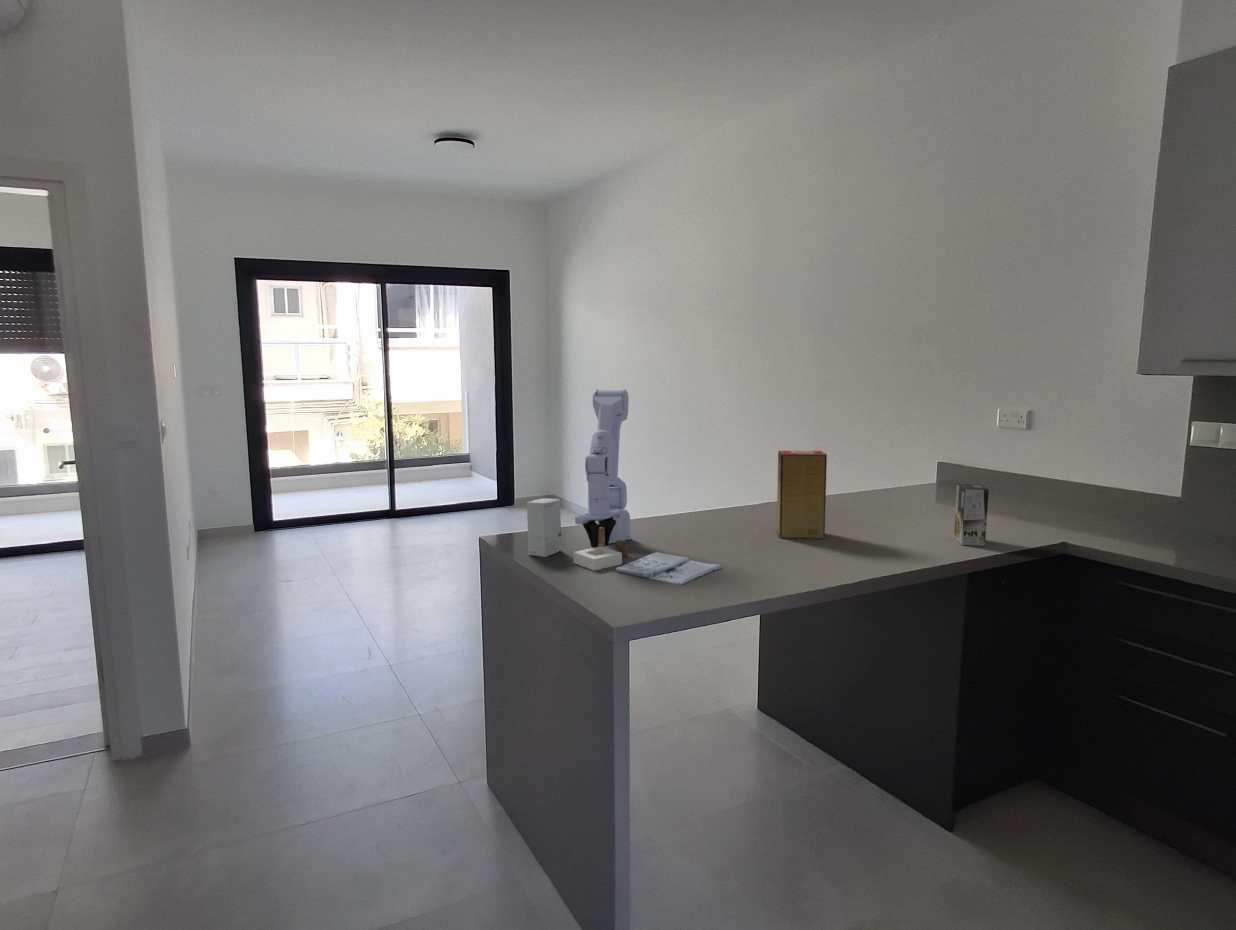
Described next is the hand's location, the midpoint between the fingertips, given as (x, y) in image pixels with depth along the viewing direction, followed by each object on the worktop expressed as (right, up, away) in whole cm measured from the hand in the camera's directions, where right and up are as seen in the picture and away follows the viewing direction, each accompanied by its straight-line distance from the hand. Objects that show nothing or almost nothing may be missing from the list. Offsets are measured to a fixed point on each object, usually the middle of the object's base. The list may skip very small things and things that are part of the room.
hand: (599, 546), depth 202 cm
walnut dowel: (+6, -2, -3) cm, 7 cm away
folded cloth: (+18, -5, -16) cm, 24 cm away
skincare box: (-15, -2, +1) cm, 15 cm away
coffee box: (+105, 0, +8) cm, 105 cm away
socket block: (0, -3, -10) cm, 10 cm away
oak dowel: (0, -2, 0) cm, 2 cm away
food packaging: (+59, +1, +18) cm, 62 cm away
